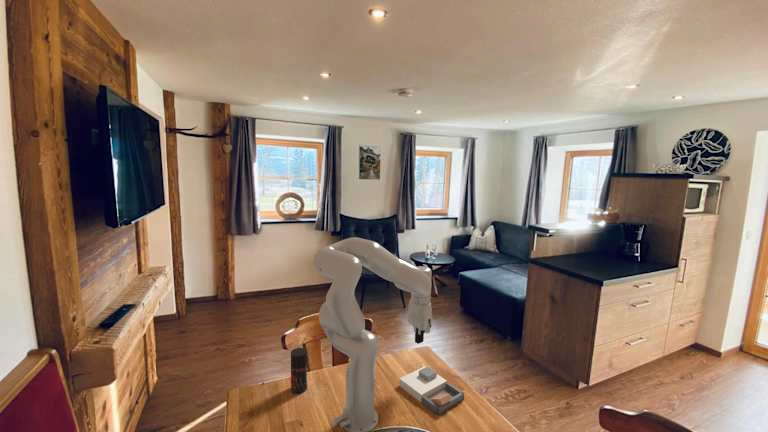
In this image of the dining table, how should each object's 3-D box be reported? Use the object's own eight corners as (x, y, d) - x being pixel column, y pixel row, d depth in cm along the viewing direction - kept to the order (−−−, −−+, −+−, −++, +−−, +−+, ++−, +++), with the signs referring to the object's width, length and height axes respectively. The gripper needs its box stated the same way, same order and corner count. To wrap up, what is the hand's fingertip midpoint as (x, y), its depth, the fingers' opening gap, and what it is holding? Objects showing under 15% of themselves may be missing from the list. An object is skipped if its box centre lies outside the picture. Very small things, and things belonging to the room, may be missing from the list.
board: (421, 402, 123) (421, 394, 123) (399, 385, 132) (399, 378, 132) (446, 387, 132) (447, 380, 131) (424, 372, 141) (424, 366, 141)
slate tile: (427, 381, 130) (428, 376, 130) (418, 375, 134) (418, 370, 134) (436, 377, 134) (436, 372, 133) (427, 370, 137) (427, 366, 137)
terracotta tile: (430, 399, 122) (432, 405, 121) (440, 399, 118) (441, 405, 117) (440, 393, 125) (441, 399, 124) (449, 393, 121) (451, 399, 120)
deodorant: (308, 392, 127) (308, 354, 125) (291, 395, 125) (291, 357, 123) (305, 382, 132) (305, 346, 130) (290, 385, 130) (289, 349, 128)
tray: (438, 415, 117) (438, 409, 116) (421, 402, 123) (421, 396, 123) (463, 399, 126) (464, 393, 125) (447, 388, 132) (447, 382, 131)
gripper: (401, 294, 136) (399, 336, 139) (427, 307, 124) (425, 353, 127) (415, 290, 141) (413, 331, 144) (441, 302, 129) (439, 347, 132)
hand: (419, 341), depth 135 cm, fingers closed
